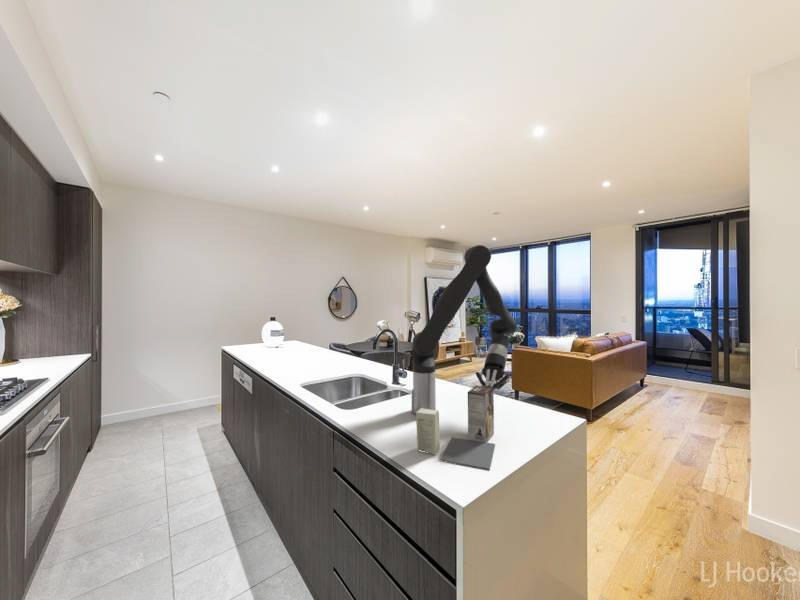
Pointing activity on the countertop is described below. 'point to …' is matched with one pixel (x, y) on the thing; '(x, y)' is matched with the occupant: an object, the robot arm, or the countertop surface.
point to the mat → (469, 453)
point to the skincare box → (428, 430)
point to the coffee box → (480, 414)
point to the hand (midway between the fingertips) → (487, 397)
